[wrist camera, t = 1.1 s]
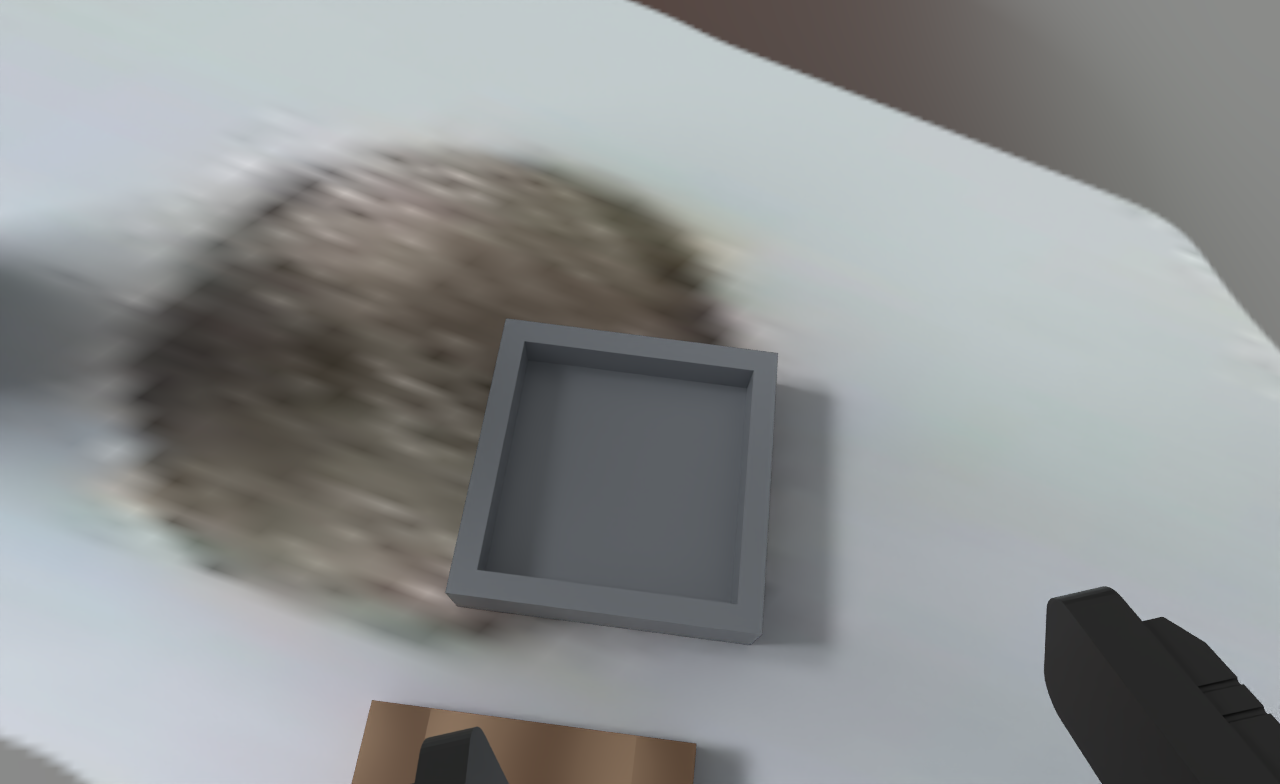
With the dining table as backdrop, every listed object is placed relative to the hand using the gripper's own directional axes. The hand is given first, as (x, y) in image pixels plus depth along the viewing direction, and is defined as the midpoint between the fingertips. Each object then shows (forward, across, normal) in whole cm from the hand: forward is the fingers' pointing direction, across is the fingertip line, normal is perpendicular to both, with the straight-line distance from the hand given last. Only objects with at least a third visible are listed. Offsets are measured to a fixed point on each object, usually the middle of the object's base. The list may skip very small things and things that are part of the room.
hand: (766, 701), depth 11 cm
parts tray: (+21, +3, +11) cm, 24 cm away
